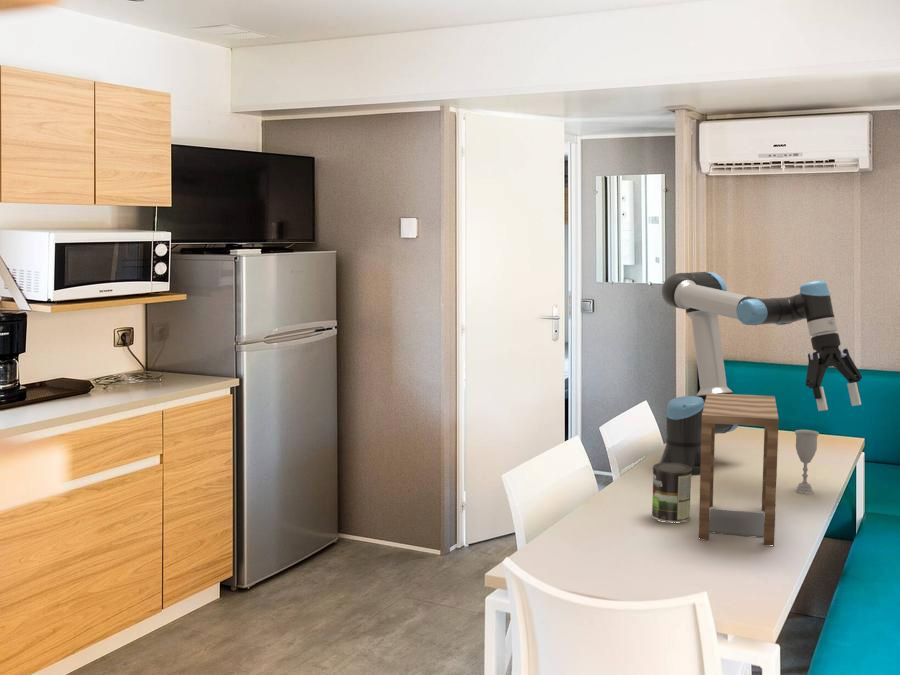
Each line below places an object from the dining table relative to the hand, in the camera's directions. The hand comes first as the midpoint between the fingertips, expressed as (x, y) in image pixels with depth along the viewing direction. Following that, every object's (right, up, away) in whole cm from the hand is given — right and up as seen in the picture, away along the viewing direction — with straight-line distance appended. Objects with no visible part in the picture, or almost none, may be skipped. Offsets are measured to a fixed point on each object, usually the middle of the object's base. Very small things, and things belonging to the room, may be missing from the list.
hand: (840, 407), depth 257 cm
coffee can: (-50, -29, -10) cm, 59 cm away
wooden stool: (-34, -30, -15) cm, 48 cm away
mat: (-34, -30, -15) cm, 48 cm away
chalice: (-5, -26, +14) cm, 30 cm away
